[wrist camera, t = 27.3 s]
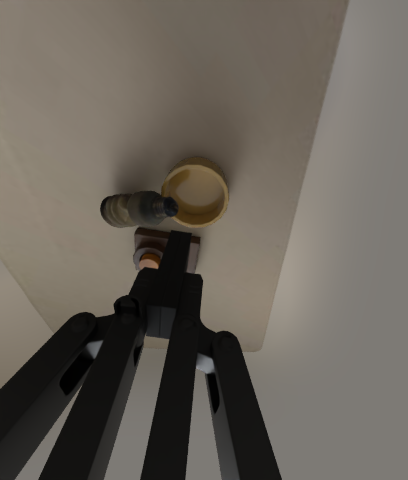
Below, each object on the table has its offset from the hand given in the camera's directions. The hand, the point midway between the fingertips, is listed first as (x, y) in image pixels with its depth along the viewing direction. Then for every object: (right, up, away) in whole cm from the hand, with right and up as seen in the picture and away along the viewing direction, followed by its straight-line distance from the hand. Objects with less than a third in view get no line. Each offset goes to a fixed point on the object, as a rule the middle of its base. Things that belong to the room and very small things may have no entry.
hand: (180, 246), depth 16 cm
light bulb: (-1, +5, +13) cm, 14 cm away
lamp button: (-8, -3, +25) cm, 26 cm away
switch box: (-5, -2, +28) cm, 28 cm away
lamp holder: (+1, +9, +20) cm, 22 cm away
